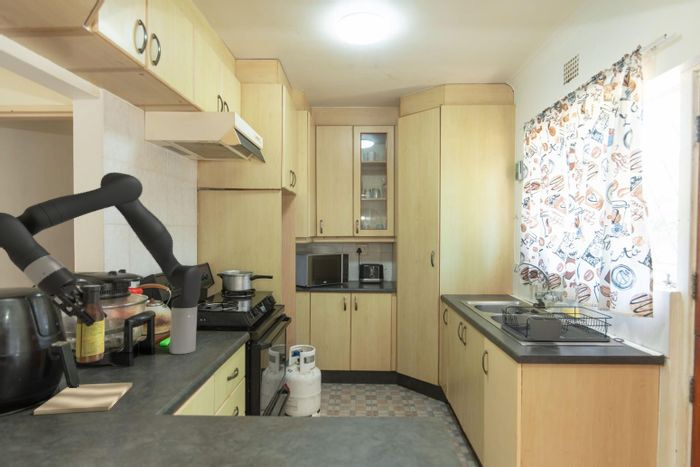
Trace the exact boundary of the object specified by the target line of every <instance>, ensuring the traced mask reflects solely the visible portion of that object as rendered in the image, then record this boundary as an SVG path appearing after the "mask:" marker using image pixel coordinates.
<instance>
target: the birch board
mask: <svg viewBox="0 0 700 467" xmlns="http://www.w3.org/2000/svg"><path fill="white" fill-rule="evenodd" d="M78 385H79V387H77V388H69V387H68V386H67V387H66V388H64V389H63V390H61V391H60V392H58V393H57V394H55V395H54V396H52V397H51V398H50V399H48V400H47V401H45V402H44V403H42V404H41V405H40V406H39V407H37V408H36V409H34V410H33V416H35V415H51V414H54V415H55V414H67V413H84V412H85V413H89V412H103V411H104V412H105V411H109V410H110V409H112V407H113V406H114V405H115V404H116V403H117V402H118V401H119V400H120V399H121V398H122V397H123V396H124V395H125V394H126V393H127V392H128V391H129V390H130V389H131V388H132V387H133V382H116V383H114V382H113V383H94V384H93V383H90V384H88V383H87V384H78Z"/></svg>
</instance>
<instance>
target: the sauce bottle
mask: <svg viewBox="0 0 700 467" xmlns="http://www.w3.org/2000/svg"><path fill="white" fill-rule="evenodd" d="M101 288H102V287H101V285H100V284H88V285H86V284H85V285H83V286H81V290H82V291H83V300H82V302H83V304H82V306H83V307H84V309H85V311H87V312H88V313H89V314H90V315H91V316H92V317H93V318H94V319H95V320H96V322H95V323H94V324H92V325H91V326H89V327H88V326H86V325H85V324H84V323H83V322H82V321H81V320H80V319H79V318H78V317H76V326H75V327H76V329H75V331H76V332H75V357H76V358H75V360H76V362H77V363H80V364H89V363H94V362H98V361H100V360H103V359H104V353H105V328H106V327H105V325H106V323H105V321H106V318H105V314H104V312H105V311H104V309H103V306H102V303H101V300H100V296H101V294H100V293H101ZM103 311H104V312H103Z"/></svg>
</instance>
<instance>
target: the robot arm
mask: <svg viewBox="0 0 700 467" xmlns="http://www.w3.org/2000/svg"><path fill="white" fill-rule="evenodd" d="M143 188H144V187H143V184H142V182H141V181H140V179H139V178H137V177H136V176H134V175H131V174H128V173H123V172H108V173H106V174H104V175H103V176H102V178H101V180H100V187H97V188H94V189H93V190H88V191H83V192H80V193H79V192H78V193H74V194H73V193H72V194H68V195H64V196H63V195H62V196H58V197H54V198H52V199H51V198H50V199H48V200H45V201H42V202H38V203H37V204H33V205H30V206H29V207H27V208H25V209H24V211H23V213H21V214H20V215H18V216H14V215H13V214H10V213H7V212H0V249H1V248H2V250H4V251H5V253H6V254H7V256H8V259H9V260H10V261H11V263H13V264H14V265H15V266H16V267H17V268H18V269H19V270H20V271H21V272H22V273H23V274H24V275H25V276H26V278H28V280H29V281H30V282H31V283H32V284H33V285H34V286H35V287H36V288H38V290H39V291H41V292H42V294H44V295H45V296H46V297H47V298H49V299H52V300H51V303H52V304H53V305H55V307H57V308H58V309H59V310H61V311H62V312H63V313H64V314H65V315H66V316H68V317H70V318H71V317H74V318H77V317H78V318H79V319H80V320H81V321H82V322H83V323H84V324H85V325H86V326H88V327H89V326H91V325H92V324H94V323H95V322H96V320H95V319H94V318H93V317H92V316H91V315H90V314H89V313H88V312H87V311H85V309H84V307H83V306H82V304H83V302H82V300H83V291H82V288H79V287H78V286H76V283H77V282H78V278H77V277H76V276H75V275H74V274H73V273H72V272H71V271H70V270H69V269H68V268H67V267H66V266H65V265H64V264H63V263H61V261H60V260H58V259H57V258H55V257H54V256H53V255H52V254H51V253H50V252H48V250H46V248H44V247H43V246H42V245H41V244H40V243H39V242H38V241H37V240H36V239H35V238H34V236H36V235H38V234H39V233H40V232H42V231H45V230H46V229H50V228H52V227H55V226H58V225H60V224H64V223H66V222H68V221H71V220H73V219H76V218H79V217H81V216H85V215H88V214H91V213H93V212H94V213H95V212H97V211H100V210H104V209H108V208H112V207H114V208H116V209H117V210H118V211H119V212H120V214H121V215H122V216H123V218H124V219H125V221H126V222H127V224H128V225H129V226H130V228H131V230H132V231H133V233H135V235H136V237H137V238H138V240H139V241H140V242H141V244H142V245H143V247H144V248H145V249H146V250H147V251H148V252H149V254H150V255H151V256H152V258H153V260H154V261H155V263H156V264H157V265H158V266H159V269H160V270H161V272H162V273H163V275H164V278H165V279H166V281H167V282H168V284H169V285H170V286H171V287H172V288H175V289H180V290H181V294H180V295H179V296H177V297H176V298H173V299H172V300H171V310H170V311H171V312H170V330H169V332H170V334H169V353H170V354H173V355H184V354H185V355H186V354H189V353H194V352H195V351H196V346H197V344H196V340H197V325H198V324H197V322H198V321H197V320H198V318H197V317H198V303H199V300H200V296H201V287H202V286H201V285H202V272H201V270H200V268H199V266H195V265H183V264H181V263H180V262H179V261H178V258H176V256H175V255H174V251H173V250H174V249H173V248H174V242H173V241H174V240H173V236H172V235H171V233H170V232H169V230H168V229H167V228H166V225H164V223H163V222H162V221H161V220H160V219H159V218H158V217H157V216H156V215H155V214H154V213H153V212H151V210H149V209H148V208H146V206H145V204H143V203H142V202H141V200H140V199H139V198H140V197H141V196H142V194H143ZM103 312H104V314H105V319H107V317H108V314H107V313H106V312H105V311H104V310H103Z"/></svg>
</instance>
